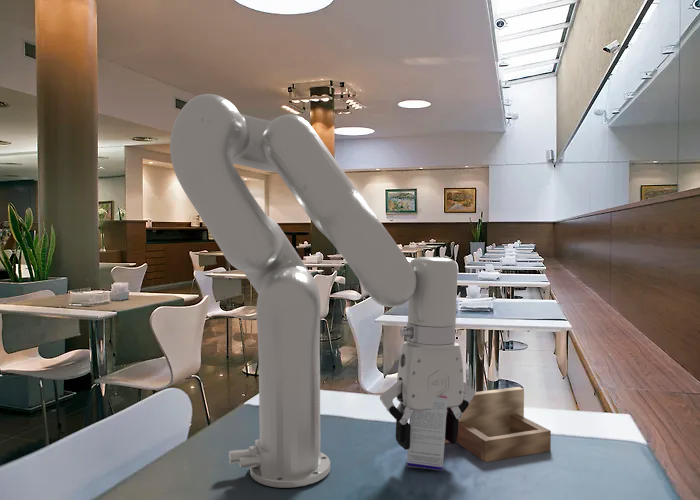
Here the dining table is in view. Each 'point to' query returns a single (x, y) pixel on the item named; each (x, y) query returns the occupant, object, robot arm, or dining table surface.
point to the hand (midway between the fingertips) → (426, 442)
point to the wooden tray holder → (500, 426)
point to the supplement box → (428, 436)
